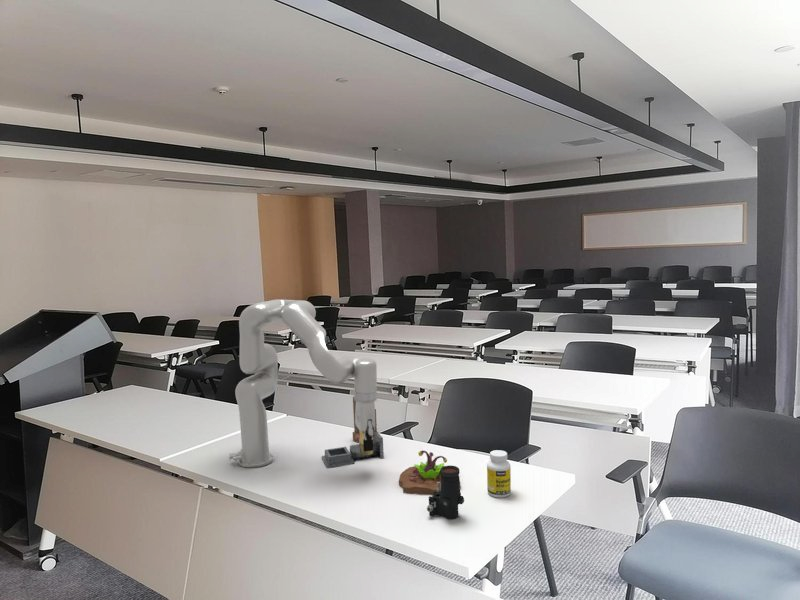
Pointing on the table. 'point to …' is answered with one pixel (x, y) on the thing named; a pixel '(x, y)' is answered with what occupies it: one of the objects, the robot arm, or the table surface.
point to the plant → (422, 476)
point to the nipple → (362, 444)
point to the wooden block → (356, 430)
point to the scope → (446, 494)
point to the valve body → (351, 453)
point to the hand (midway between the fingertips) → (366, 447)
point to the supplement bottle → (498, 474)
